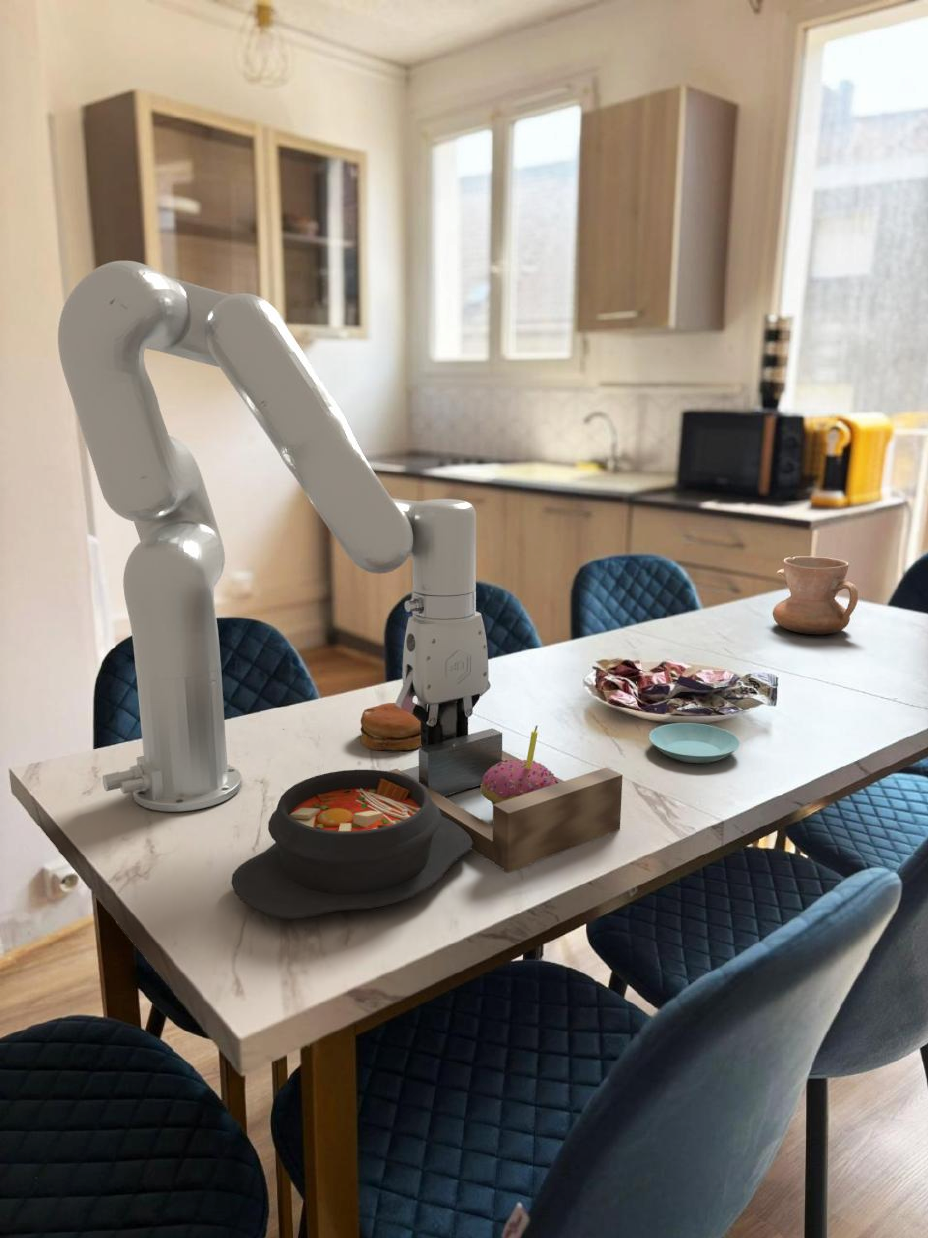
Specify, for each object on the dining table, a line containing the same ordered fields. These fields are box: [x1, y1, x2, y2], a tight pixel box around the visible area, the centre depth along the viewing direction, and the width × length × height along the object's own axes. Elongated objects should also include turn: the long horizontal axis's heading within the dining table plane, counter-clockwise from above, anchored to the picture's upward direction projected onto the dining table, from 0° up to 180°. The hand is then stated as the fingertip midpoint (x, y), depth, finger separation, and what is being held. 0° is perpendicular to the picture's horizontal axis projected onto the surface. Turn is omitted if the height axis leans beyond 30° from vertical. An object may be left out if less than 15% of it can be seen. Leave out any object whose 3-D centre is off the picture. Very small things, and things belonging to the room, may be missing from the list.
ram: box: [401, 699, 503, 797], centre depth 113 cm, size 11×7×10 cm, turn 126°
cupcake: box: [480, 724, 558, 805], centre depth 103 cm, size 9×8×12 cm
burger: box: [359, 702, 422, 751], centre depth 128 cm, size 10×9×5 cm
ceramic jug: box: [772, 555, 859, 635], centre depth 184 cm, size 18×14×14 cm
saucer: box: [648, 722, 741, 764], centre depth 124 cm, size 12×12×2 cm
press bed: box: [387, 749, 623, 873], centre depth 107 cm, size 16×24×6 cm, turn 36°
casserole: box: [231, 769, 473, 920], centre depth 92 cm, size 25×19×8 cm
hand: (444, 747), depth 114 cm, fingers open, 3 cm apart
